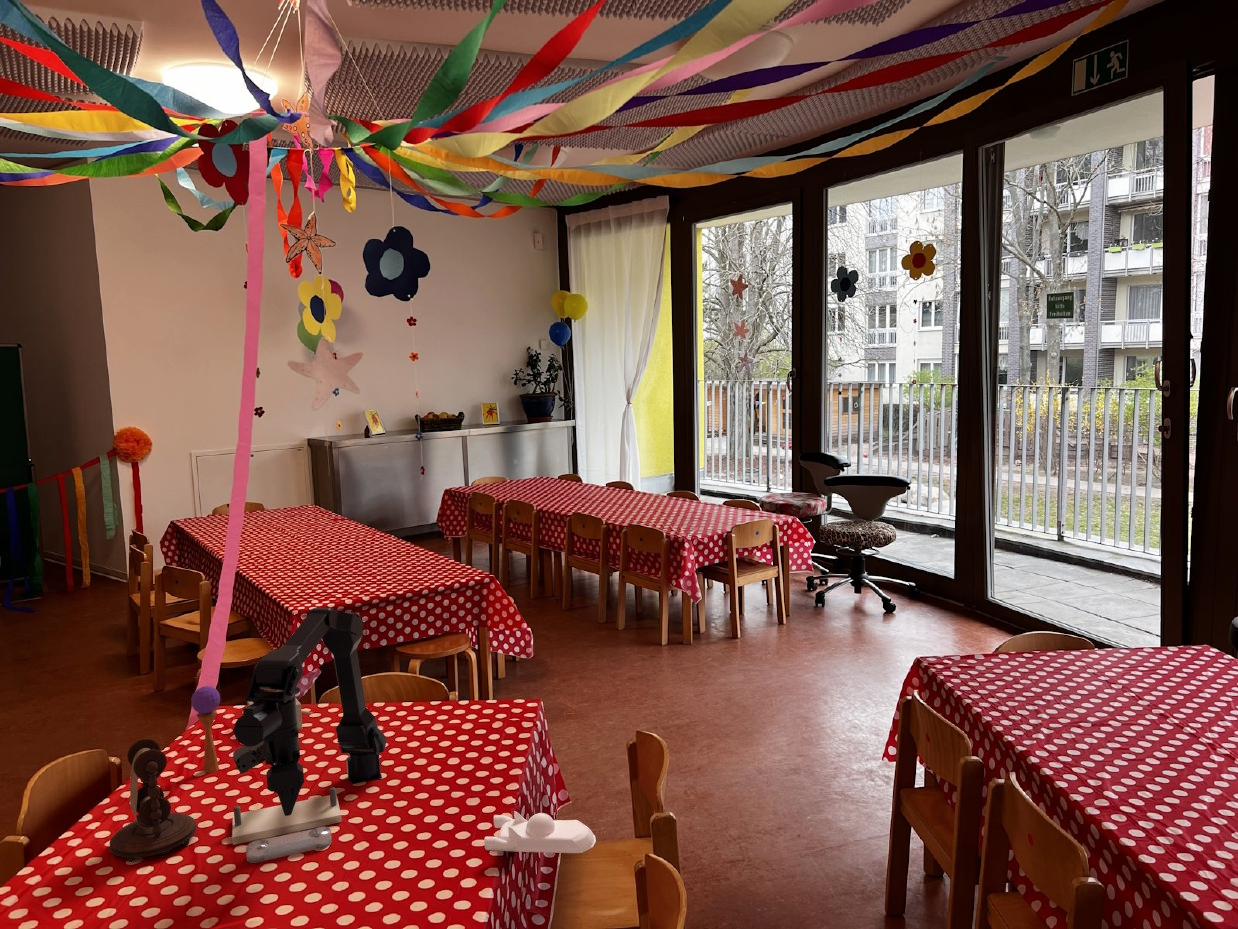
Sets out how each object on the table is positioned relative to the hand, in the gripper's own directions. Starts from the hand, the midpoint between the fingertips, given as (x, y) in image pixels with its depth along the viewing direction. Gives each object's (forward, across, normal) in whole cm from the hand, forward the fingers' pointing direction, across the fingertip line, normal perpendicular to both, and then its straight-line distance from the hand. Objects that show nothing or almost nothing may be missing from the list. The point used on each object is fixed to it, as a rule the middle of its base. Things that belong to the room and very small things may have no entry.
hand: (286, 804), depth 168 cm
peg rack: (+9, -12, 0) cm, 15 cm away
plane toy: (+10, +19, +44) cm, 49 cm away
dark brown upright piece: (+9, -14, -24) cm, 29 cm away
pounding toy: (+10, -69, 0) cm, 70 cm away
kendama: (+9, -45, -15) cm, 48 cm away
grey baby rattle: (+9, 0, 0) cm, 9 cm away
